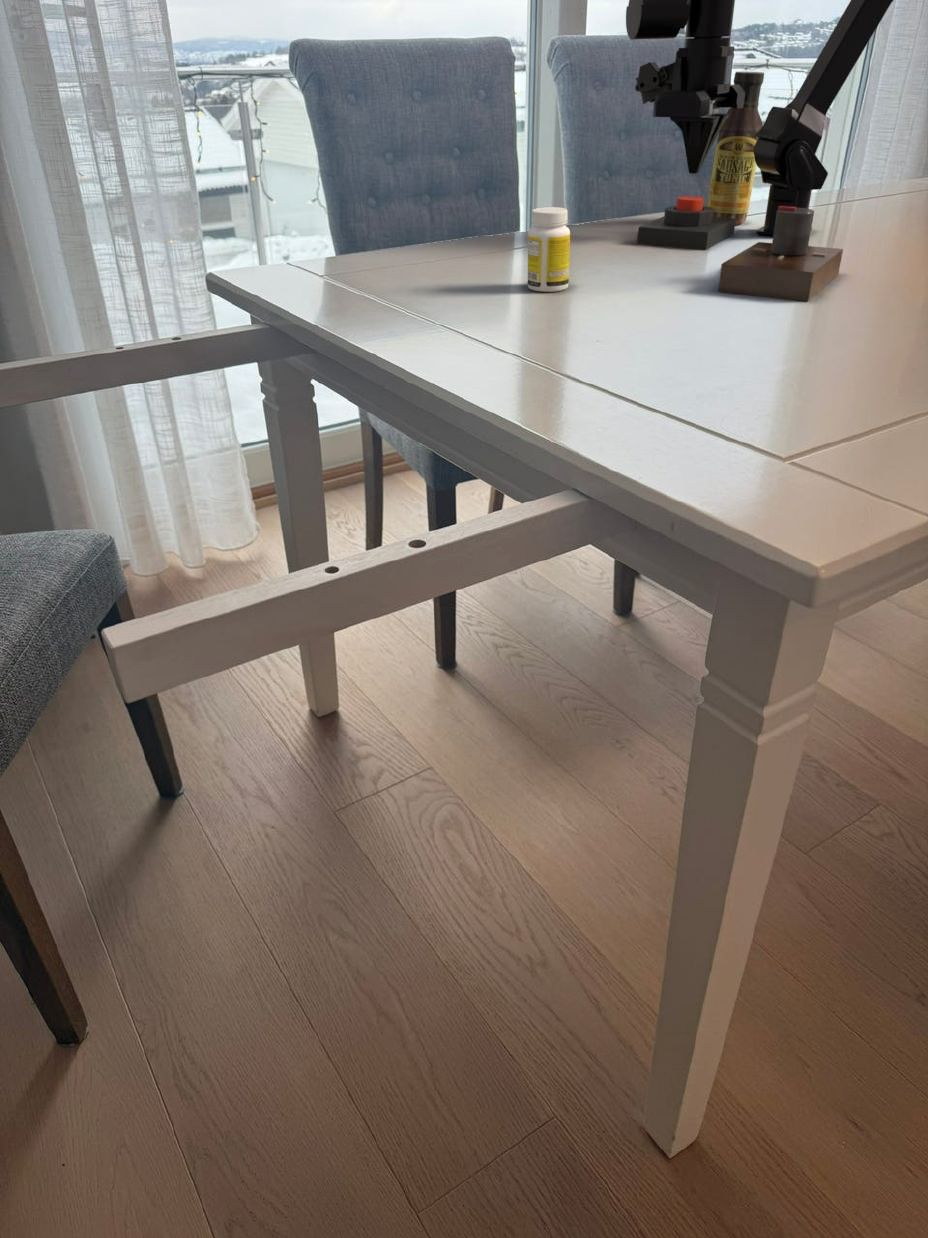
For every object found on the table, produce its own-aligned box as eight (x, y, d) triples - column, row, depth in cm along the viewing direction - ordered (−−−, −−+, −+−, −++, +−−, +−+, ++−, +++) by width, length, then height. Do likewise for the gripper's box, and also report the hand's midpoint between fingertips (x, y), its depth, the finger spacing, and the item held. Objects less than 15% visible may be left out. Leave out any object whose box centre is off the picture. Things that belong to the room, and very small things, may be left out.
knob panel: (754, 267, 112) (758, 240, 110) (838, 275, 107) (843, 247, 105) (717, 291, 102) (721, 262, 100) (808, 301, 97) (813, 270, 95)
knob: (811, 250, 105) (819, 205, 102) (801, 257, 102) (809, 211, 99) (776, 247, 106) (783, 203, 104) (766, 253, 104) (773, 208, 101)
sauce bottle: (704, 225, 136) (722, 72, 125) (705, 218, 141) (722, 70, 130) (749, 226, 135) (771, 71, 124) (748, 219, 140) (769, 70, 129)
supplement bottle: (572, 284, 106) (575, 206, 102) (562, 293, 102) (566, 213, 98) (533, 282, 107) (534, 205, 103) (522, 291, 104) (523, 212, 99)
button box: (668, 229, 134) (670, 200, 132) (733, 234, 130) (738, 204, 128) (636, 243, 126) (639, 212, 124) (706, 249, 121) (709, 217, 119)
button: (681, 208, 128) (682, 195, 127) (705, 210, 126) (707, 196, 125) (672, 212, 125) (673, 198, 124) (697, 214, 124) (698, 200, 123)
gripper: (673, 37, 125) (663, 162, 133) (619, 40, 112) (611, 178, 120) (753, 35, 120) (736, 166, 128) (706, 38, 107) (691, 182, 115)
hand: (693, 172), depth 123 cm, fingers closed
